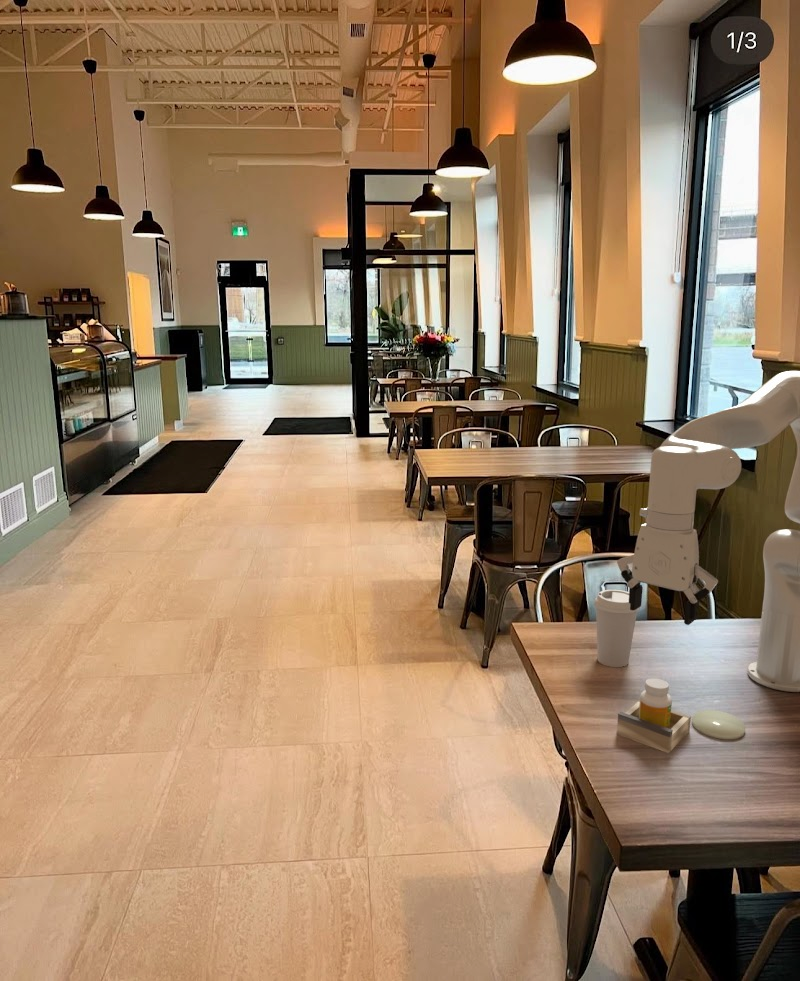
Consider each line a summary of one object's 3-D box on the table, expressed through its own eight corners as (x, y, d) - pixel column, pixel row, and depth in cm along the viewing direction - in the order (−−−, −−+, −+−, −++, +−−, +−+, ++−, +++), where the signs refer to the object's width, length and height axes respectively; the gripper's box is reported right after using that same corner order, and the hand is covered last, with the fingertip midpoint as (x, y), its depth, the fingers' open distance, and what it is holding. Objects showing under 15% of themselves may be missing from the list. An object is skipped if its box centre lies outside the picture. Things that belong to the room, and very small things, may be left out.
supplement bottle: (670, 742, 135) (675, 691, 133) (639, 739, 136) (642, 688, 134) (666, 726, 140) (671, 677, 138) (636, 723, 141) (639, 675, 139)
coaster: (702, 709, 146) (702, 705, 146) (751, 725, 140) (752, 721, 140) (684, 727, 140) (684, 723, 139) (735, 745, 134) (735, 740, 134)
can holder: (639, 714, 144) (640, 694, 143) (689, 731, 138) (691, 711, 137) (616, 734, 137) (618, 713, 136) (668, 753, 131) (670, 732, 130)
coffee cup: (601, 647, 173) (605, 585, 170) (642, 659, 167) (647, 594, 164) (582, 662, 166) (586, 596, 163) (624, 674, 160) (629, 607, 157)
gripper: (612, 515, 132) (605, 608, 136) (713, 533, 121) (703, 634, 125) (631, 507, 138) (624, 597, 141) (730, 524, 126) (720, 621, 130)
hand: (661, 615), depth 133 cm, fingers open, 9 cm apart
